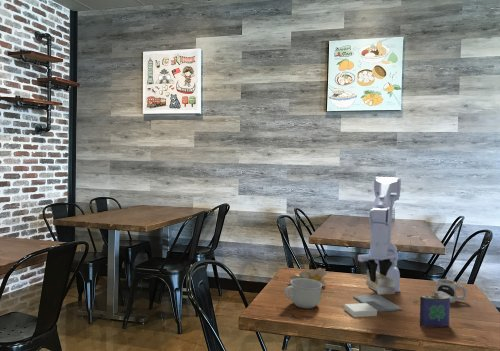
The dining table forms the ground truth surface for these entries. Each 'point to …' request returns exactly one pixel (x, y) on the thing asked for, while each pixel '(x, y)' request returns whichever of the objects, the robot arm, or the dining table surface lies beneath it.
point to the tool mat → (378, 303)
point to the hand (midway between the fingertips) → (377, 281)
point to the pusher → (381, 284)
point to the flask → (434, 310)
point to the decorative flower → (312, 275)
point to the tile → (360, 310)
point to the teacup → (304, 292)
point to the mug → (449, 289)
